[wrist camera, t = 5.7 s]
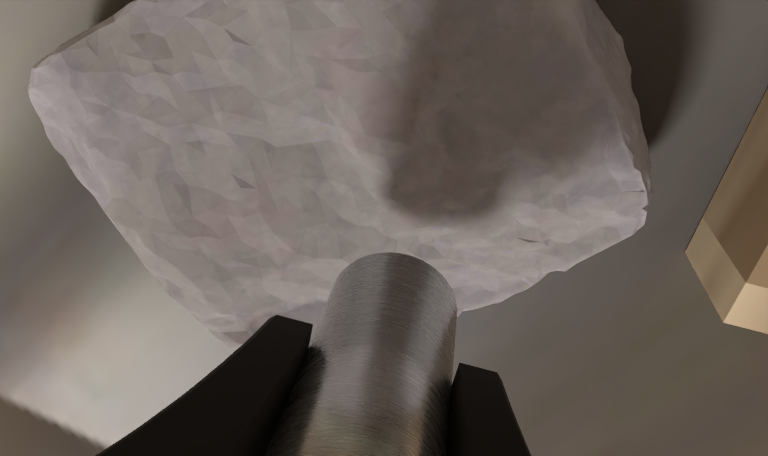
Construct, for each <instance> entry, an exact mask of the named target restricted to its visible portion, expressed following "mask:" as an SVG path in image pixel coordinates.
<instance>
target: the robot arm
mask: <svg viewBox="0 0 768 456" xmlns="http://www.w3.org/2000/svg"><path fill="white" fill-rule="evenodd" d="M312 328H313V324H310V323H306V322H303V321H299V320H295V319H291V318H287V317H284V316H280V315H275V316H273V317H271V318H269V319H268V320H267V321H266V322H265V323H264V324H263V325H262V326H261V327H260V328H259V329H258V330H257V331H256V332H255V333H254V334H253V335H252V336H251V337H250V338H249V339H248V340H247V341H246V342H245V343H244V344H243V345H242V346H240V347H239V348H238V349H237V350H236V351H235V352H234V353H233V354H232V355H230V356H229V357H228V358H227V359H226V360H225V361H224V362H223V363H221V364H220V365H219V366H218V367H217V368H215V369H214V370H213V371H212V372H210V373H209V374H208V375H207V376H206V377H204V378H203V379H202V380H201V381H200V382H198V383H197V384H196V385H195V386H194V387H192V388H191V389H190V390H189V391H187V392H186V393H185V394H183V395H182V396H181V397H180V398H178V399H177V400H175V401H174V402H173V403H171V404H170V405H169V406H167V407H166V408H165V409H163V410H162V411H160V412H159V413H158V414H156V415H155V416H154V417H152V418H151V419H150V420H148V421H147V422H146V423H144V424H143V425H141V426H140V427H138V428H137V429H136V430H134V431H133V432H131V433H130V434H128V435H127V436H125V437H124V438H122V439H121V440H119V441H118V442H116V443H115V444H113V445H111V446H110V447H108V448H107V449H105V450H104V451H102V452H101V453H99V454H97V455H96V456H265V455H266V452H267V450H268V447H269V445H270V442H271V440H272V437H273V435H274V432H275V430H276V427H277V425H278V422H279V420H280V417H281V415H282V412H283V410H284V407H285V405H286V403H287V400H288V398H289V395H290V393H291V391H292V388H293V386H294V383H295V381H296V378H297V376H298V373H299V371H300V368H301V366H302V363H303V361H304V358H305V356H306V353H307V351H308V348H309V343H310V338H311V333H312ZM446 456H531V454H530V452H529V450H528V447H527V445H526V443H525V440H524V438H523V435H522V433H521V430H520V428H519V425H518V423H517V420H516V418H515V415H514V413H513V410H512V408H511V405H510V402H509V400H508V397H507V394H506V391H505V388H504V386H503V383H502V380H501V378H500V377H499V375H498V373H497V372H493V371H489V370H485V369H482V368H478V367H474V366H470V365H466V364H463V363H459V366H458V369H457V372H456V375H455V378H454V381H453V384H452V386H451V398H450V411H449V424H448V438H447V452H446Z"/></svg>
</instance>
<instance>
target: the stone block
mask: <svg viewBox="0 0 768 456" xmlns="http://www.w3.org/2000/svg"><path fill="white" fill-rule="evenodd" d="M631 70H632V68H631V66H630V63H629V61H628V58H627V56H626V53H625V49H624V43H623V39H622V37H621V35H619V34H618V33H617V32H616V30H615V29H614V28H613V26H612V24H611V22H610V21H609V20H608V18H607V17H606V16H605V14H604V13H603V12H602V10H601V9H600V7H599V6H598V3H597V2H596V1H595V0H134V1H132V2H130V3H129V4H127V5H126V6H125V7H123V8H122V9H121V10H119V11H118V12H117V13H115V14H114V15H113V16H111V17H109V18H107V19H106V20H104V21H102V22H100V23H99V24H97V25H95V26H93V27H91V28H89V29H88V30H86V31H84V32H82V33H80V34H78V35H77V36H75V37H73V38H72V39H70V40H68V41H67V42H65V43H63V44H61V45H60V46H59V47H58V48H57V49H56V50H55V51H53V52H52V53H50V54H49V55H47V56H46V57H44V58H43V59H41V60H40V61H39V62H38V63H36V64H35V65H34V66H33V67H32V70H31V77H30V81H29V85H28V92H29V97H30V100H31V102H32V104H33V106H34V108H35V110H36V112H37V114H38V115H39V117H40V119H41V121H42V122H43V125H44V128H45V131H46V135H47V137H48V138H49V140H50V142H51V143H52V145H53V146H54V148H55V149H56V150H57V151H58V152H59V153H60V154H61V155H62V156H63V157H64V158H65V159H66V161H67V163H68V165H69V166H70V168H71V169H72V171H73V172H74V174H75V176H76V177H77V179H78V180H79V181H80V182H81V183H82V184H83V185H84V186H85V187H86V188H87V189H88V190H89V191H90V192H91V193H92V194H93V195H94V197H95V198H96V200H97V201H98V203H99V204H100V206H101V207H102V209H103V210H104V212H105V213H106V214H107V216H108V217H109V218H110V220H111V221H112V222H113V224H114V225H115V226H116V228H117V229H118V230H119V232H120V233H121V234H122V236H123V237H124V238H125V239H126V241H127V242H128V243H129V244H130V246H131V247H132V248H133V250H134V251H135V253H136V254H137V255H138V257H139V258H140V260H141V261H142V263H143V264H144V265H145V267H146V268H147V269H149V271H150V273H151V274H152V276H153V277H154V278H155V279H156V280H157V282H158V283H159V284H160V285H161V287H162V288H163V289H164V290H165V291H166V293H167V294H168V295H169V296H170V297H171V298H172V299H174V300H175V301H176V302H177V303H178V304H179V305H181V306H182V307H183V308H184V309H185V310H186V311H187V312H189V313H190V314H191V315H192V316H193V317H194V318H195V319H196V320H197V321H198V322H199V323H200V324H202V325H203V326H204V327H206V328H207V329H208V330H209V331H210V332H211V333H212V334H213V335H215V336H216V337H217V338H218V339H219V340H221V341H222V342H223V343H225V344H226V345H228V346H229V347H240V346H242V345H243V344H244V343H245V342H246V341H247V340H248V339H249V338H250V337H251V336H252V335H253V334H254V333H255V332H256V331H257V330H258V329H259V328H260V327H261V326H262V325H263V324H264V323H265V322H266V321H267V320H268V319H269V318H271V317H273V316H275V315H280V316H284V317H287V318H291V319H295V320H299V321H303V322H306V323H310V324H313V328H312V333H311V338H310V342H311V340H312V337H313V335H314V332H315V330H316V327H317V325H318V322H319V320H320V317H321V315H322V312H323V310H324V307H325V305H326V302H327V300H328V297H329V295H330V292H331V290H332V287H333V285H334V283H335V281H336V279H337V277H338V276H339V274H340V273H341V272H342V271H343V270H344V269H345V268H346V267H347V266H348V265H349V264H351V263H352V262H354V261H356V260H357V259H360V258H362V257H364V256H367V255H371V254H376V253H385V252H392V253H401V254H406V255H410V256H413V257H416V258H418V259H420V260H423V261H424V262H426V263H428V264H429V265H431V266H432V267H434V268H435V269H436V270H437V271H438V272H439V273H440V274H441V275H443V277H444V278H445V279H446V280H447V282H448V283H449V285H450V287H451V288H452V291H453V293H454V295H455V299H456V303H457V317H458V316H459V315H460V314H461V312H462V311H466V310H472V309H478V308H481V307H484V306H487V305H490V304H493V303H500V302H501V301H503V300H505V299H507V298H508V297H510V296H512V295H513V294H516V293H519V292H522V291H524V290H526V289H528V288H529V287H531V286H533V285H534V284H536V283H537V282H538V281H540V280H541V279H542V278H543V277H544V276H545V275H546V274H547V273H549V272H553V271H567V270H568V269H570V268H571V267H572V266H574V265H575V264H577V263H579V262H581V261H583V260H585V259H587V258H588V257H590V256H592V255H594V254H597V253H599V252H601V251H602V250H604V249H606V248H608V247H610V246H612V245H614V244H616V243H618V242H620V241H622V240H623V239H626V238H628V237H630V236H632V235H633V234H634V233H635V232H636V231H638V230H639V229H640V228H641V227H642V226H643V225H644V224H645V218H646V215H647V211H648V207H649V204H650V201H651V197H652V185H651V176H650V172H651V168H652V166H651V163H650V157H649V151H648V146H647V140H646V138H645V135H644V132H643V128H642V122H641V119H640V110H639V104H638V101H637V99H636V97H635V95H634V93H633V91H632V85H631ZM309 345H310V343H309Z"/></svg>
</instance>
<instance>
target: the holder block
mask: <svg viewBox="0 0 768 456" xmlns="http://www.w3.org/2000/svg"><path fill="white" fill-rule="evenodd" d="M685 254H686V255H687V257H688V259H689V261H690V263H691V264H692V266H693V268H694V270H695V272H696V274H697V275H698V277H699V279H700V281H701V283H702V284H703V286H704V288H705V290H706V292H707V294H708V295H709V297H710V299H711V301H712V303H713V305H714V306H715V308H716V310H717V312H718V314H719V315H720V317H721V319H722V321H723V322H724V323H728V324H731V325H735V326H739V327H743V328H747V329H751V330H755V331H759V332H763V333H766V334H768V88H767V90H766V92H765V94H764V96H763V98H762V100H761V102H760V104H759V106H758V108H757V110H756V112H755V114H754V116H753V118H752V120H751V122H750V124H749V126H748V128H747V130H746V132H745V134H744V136H743V138H742V140H741V142H740V144H739V146H738V148H737V150H736V152H735V154H734V156H733V158H732V160H731V162H730V164H729V166H728V168H727V170H726V172H725V174H724V176H723V178H722V180H721V182H720V184H719V186H718V188H717V190H716V192H715V194H714V196H713V198H712V200H711V202H710V204H709V206H708V208H707V209H706V211H705V213H704V215H703V217H702V219H701V221H700V223H699V225H698V227H697V229H696V231H695V233H694V235H693V237H692V239H691V241H690V243H689V245H688V247H687V249H686V251H685Z"/></svg>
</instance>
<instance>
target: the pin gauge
mask: <svg viewBox="0 0 768 456" xmlns="http://www.w3.org/2000/svg"><path fill="white" fill-rule="evenodd" d="M456 320H457V303H456V299H455V295H454V293H453V291H452V288H451V287H450V285H449V283H448V282H447V280H446V279H445V278H444V277H443V275H441V274H440V273H439V272H438V271H437V270H436V269H435V268H434V267H432V266H431V265H429V264H428V263H426V262H424V261H423V260H420V259H418V258H416V257H413V256H410V255H406V254H401V253H392V252H385V253H376V254H371V255H367V256H364V257H362V258H360V259H357V260H356V261H354V262H352V263H351V264H349V265H348V266H347V267H346V268H345V269H344V270H343V271H342V272H341V273H340V274H339V276H338V277H337V279H336V281H335V283H334V285H333V287H332V290H331V292H330V295H329V297H328V300H327V302H326V305H325V307H324V310H323V312H322V315H321V317H320V320H319V322H318V325H317V327H316V330H315V332H314V335H313V337H312V340H311V342H310V345H309V348H308V351H307V353H306V356H305V358H304V361H303V363H302V366H301V368H300V371H299V373H298V376H297V378H296V381H295V383H294V386H293V388H292V391H291V393H290V395H289V398H288V400H287V403H286V405H285V407H284V410H283V412H282V415H281V417H280V420H279V422H278V425H277V427H276V430H275V432H274V435H273V437H272V440H271V442H270V445H269V447H268V450H267V452H266V455H265V456H446V452H447V438H448V424H449V411H450V398H451V386H452V373H453V359H454V346H455V333H456Z"/></svg>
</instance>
